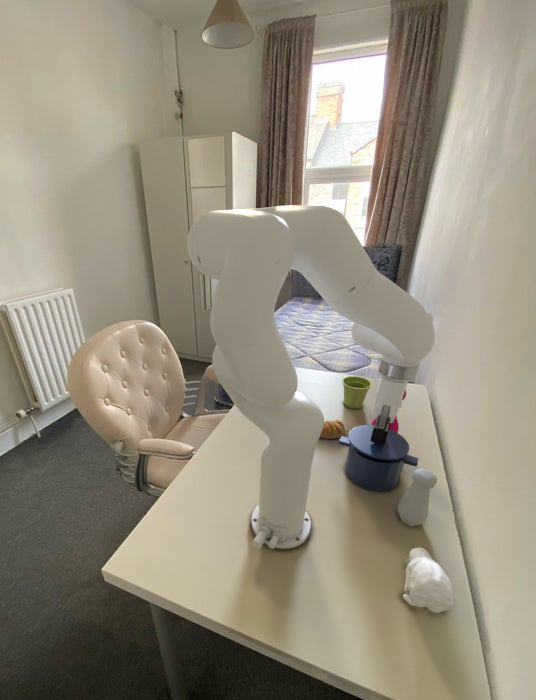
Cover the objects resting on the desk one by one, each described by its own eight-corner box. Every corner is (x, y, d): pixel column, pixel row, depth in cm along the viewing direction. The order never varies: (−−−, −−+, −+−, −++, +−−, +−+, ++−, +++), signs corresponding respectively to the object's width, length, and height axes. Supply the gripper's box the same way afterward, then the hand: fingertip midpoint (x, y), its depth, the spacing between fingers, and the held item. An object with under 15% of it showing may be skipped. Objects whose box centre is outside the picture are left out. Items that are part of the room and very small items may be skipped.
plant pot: (335, 406, 114) (338, 384, 110) (342, 395, 121) (346, 373, 116) (363, 414, 110) (368, 391, 105) (369, 402, 116) (374, 379, 112)
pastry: (317, 442, 96) (319, 431, 95) (308, 429, 102) (309, 419, 100) (347, 437, 98) (349, 427, 96) (336, 425, 104) (337, 415, 102)
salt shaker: (426, 515, 73) (444, 470, 67) (422, 534, 69) (441, 488, 63) (397, 504, 76) (412, 460, 69) (392, 522, 72) (408, 476, 65)
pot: (406, 502, 76) (416, 474, 72) (329, 476, 84) (334, 449, 80) (411, 470, 86) (420, 443, 82) (341, 449, 94) (346, 424, 89)
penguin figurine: (416, 580, 51) (407, 525, 62) (403, 616, 55) (396, 558, 65) (462, 594, 49) (445, 534, 60) (446, 629, 53) (432, 568, 63)
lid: (404, 469, 72) (411, 449, 69) (341, 450, 78) (346, 430, 75) (410, 438, 82) (416, 419, 80) (354, 423, 88) (358, 404, 85)
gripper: (384, 353, 78) (368, 419, 87) (372, 378, 66) (355, 452, 75) (419, 359, 75) (399, 427, 84) (414, 387, 63) (390, 463, 72)
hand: (378, 438), depth 79 cm, fingers closed on lid, 2 cm apart
